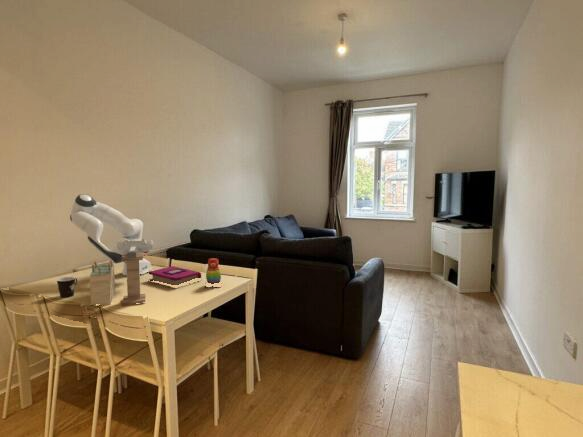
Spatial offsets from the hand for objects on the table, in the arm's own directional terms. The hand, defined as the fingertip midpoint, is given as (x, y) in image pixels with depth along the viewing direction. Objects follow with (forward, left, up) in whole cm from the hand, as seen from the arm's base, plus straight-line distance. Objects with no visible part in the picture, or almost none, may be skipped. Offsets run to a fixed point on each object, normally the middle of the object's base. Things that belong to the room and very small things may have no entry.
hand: (134, 240), depth 202 cm
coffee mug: (+24, -25, -31) cm, 46 cm away
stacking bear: (-27, +38, -31) cm, 55 cm away
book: (-23, +9, -31) cm, 40 cm away
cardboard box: (+20, -3, -30) cm, 36 cm away
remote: (+14, +14, -4) cm, 20 cm away
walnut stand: (+16, +16, -30) cm, 38 cm away
